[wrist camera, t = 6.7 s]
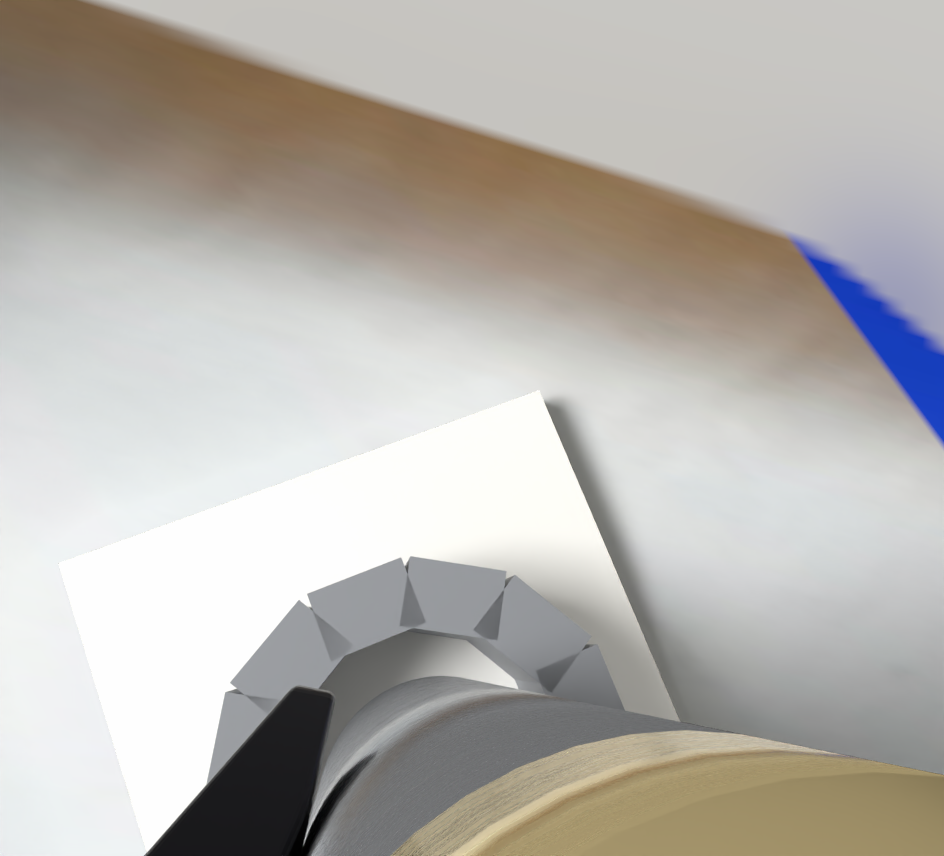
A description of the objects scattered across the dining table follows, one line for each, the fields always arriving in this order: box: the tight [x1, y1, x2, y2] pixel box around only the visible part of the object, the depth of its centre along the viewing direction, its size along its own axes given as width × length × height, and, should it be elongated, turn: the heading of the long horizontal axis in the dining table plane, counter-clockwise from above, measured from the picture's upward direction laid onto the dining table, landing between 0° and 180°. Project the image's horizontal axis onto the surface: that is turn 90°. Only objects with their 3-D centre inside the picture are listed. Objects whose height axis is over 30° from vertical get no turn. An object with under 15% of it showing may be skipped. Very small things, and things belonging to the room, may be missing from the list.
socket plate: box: [58, 390, 680, 852], centre depth 19 cm, size 14×12×4 cm
